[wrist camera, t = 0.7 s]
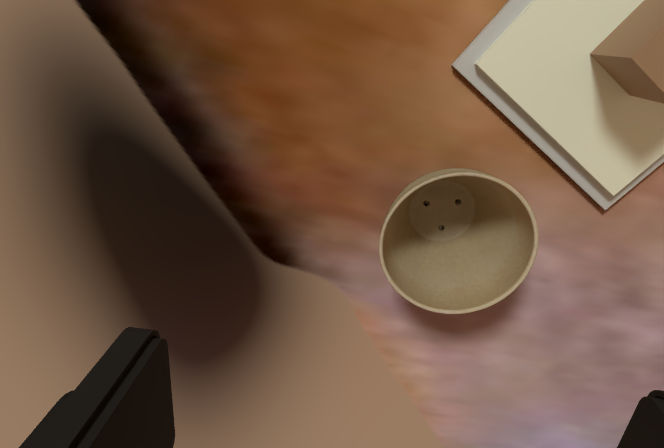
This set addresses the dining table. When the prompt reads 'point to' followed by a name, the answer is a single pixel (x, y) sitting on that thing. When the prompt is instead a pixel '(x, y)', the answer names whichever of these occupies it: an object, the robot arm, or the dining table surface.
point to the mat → (520, 118)
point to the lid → (589, 80)
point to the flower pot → (458, 241)
